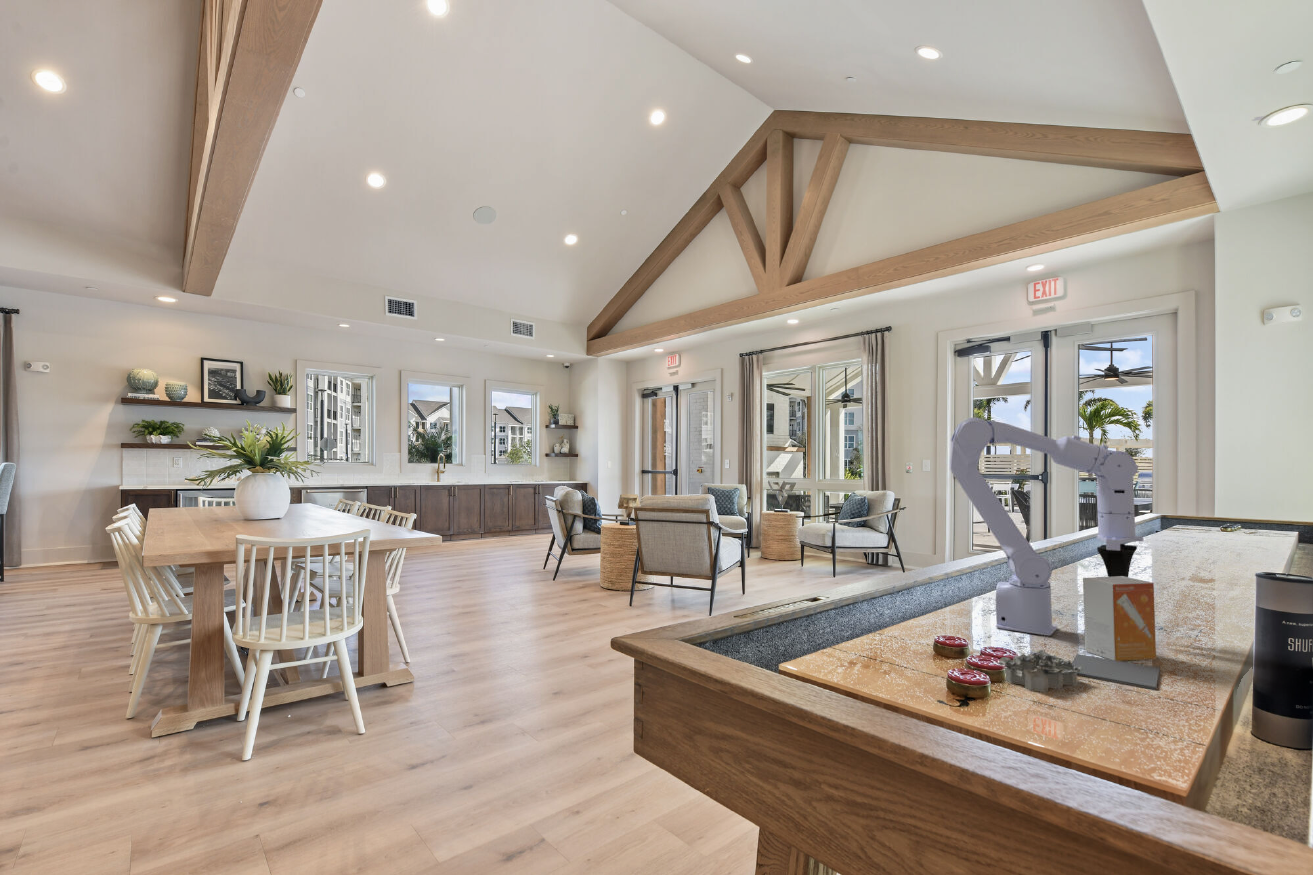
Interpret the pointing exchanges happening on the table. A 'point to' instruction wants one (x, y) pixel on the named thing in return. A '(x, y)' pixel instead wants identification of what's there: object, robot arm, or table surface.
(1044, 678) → the egg carton
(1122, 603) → the small box
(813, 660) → the table surface
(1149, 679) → the mat
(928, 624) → the table surface
